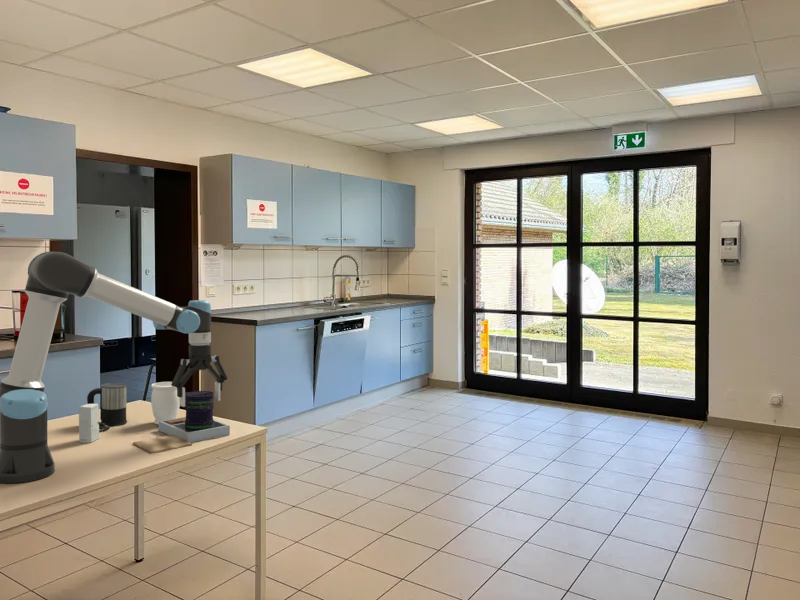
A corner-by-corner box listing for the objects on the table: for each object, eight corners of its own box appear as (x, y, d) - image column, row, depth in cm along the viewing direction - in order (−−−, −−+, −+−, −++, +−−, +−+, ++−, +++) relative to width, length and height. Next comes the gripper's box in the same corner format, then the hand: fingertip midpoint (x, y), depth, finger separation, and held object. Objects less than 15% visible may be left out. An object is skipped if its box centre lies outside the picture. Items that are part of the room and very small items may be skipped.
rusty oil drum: (178, 436, 220) (178, 394, 219) (199, 429, 228) (199, 389, 228) (199, 440, 215) (199, 397, 214) (219, 433, 224) (220, 392, 223)
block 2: (183, 431, 226) (183, 420, 226) (177, 429, 229) (177, 418, 228) (193, 429, 230) (193, 418, 229) (186, 427, 232) (186, 416, 232)
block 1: (170, 433, 223) (170, 422, 223) (165, 431, 226) (165, 420, 226) (181, 431, 226) (181, 420, 226) (176, 429, 229) (176, 418, 228)
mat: (151, 453, 199) (151, 451, 199) (132, 444, 209) (132, 442, 209) (192, 445, 209) (192, 443, 209) (172, 436, 219) (172, 434, 219)
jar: (186, 422, 239) (186, 383, 238) (163, 427, 231) (163, 387, 230) (168, 417, 245) (168, 380, 244) (145, 423, 236) (145, 384, 235)
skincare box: (91, 443, 209) (91, 407, 208) (78, 442, 209) (78, 407, 208) (99, 437, 215) (99, 403, 214) (86, 437, 215) (86, 403, 214)
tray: (187, 443, 211) (187, 433, 211) (158, 430, 226) (158, 421, 226) (229, 434, 223) (229, 425, 223) (199, 423, 238) (199, 414, 238)
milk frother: (125, 419, 241) (125, 381, 240) (131, 429, 228) (131, 388, 227) (85, 423, 234) (84, 384, 233) (88, 433, 220) (88, 392, 220)
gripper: (171, 348, 209) (171, 410, 210) (236, 342, 227) (236, 399, 228) (161, 345, 214) (161, 406, 215) (225, 340, 232) (226, 396, 233)
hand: (200, 403), depth 221 cm, fingers open, 13 cm apart
